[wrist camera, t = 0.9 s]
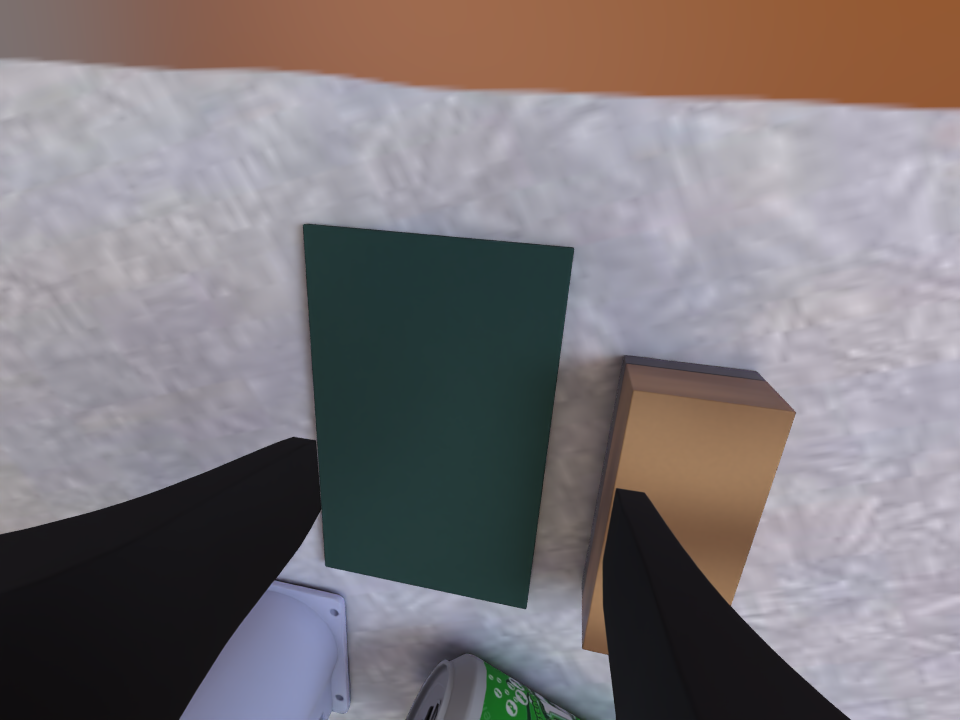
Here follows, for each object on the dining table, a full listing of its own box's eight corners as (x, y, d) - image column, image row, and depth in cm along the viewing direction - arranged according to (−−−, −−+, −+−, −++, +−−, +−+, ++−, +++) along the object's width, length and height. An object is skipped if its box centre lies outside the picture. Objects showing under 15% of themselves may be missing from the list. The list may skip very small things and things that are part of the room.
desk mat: (527, 603, 24) (526, 609, 24) (328, 561, 26) (324, 566, 26) (574, 247, 18) (574, 248, 18) (307, 223, 20) (302, 224, 19)
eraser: (688, 605, 22) (707, 677, 19) (581, 583, 23) (581, 649, 20) (757, 370, 18) (797, 412, 15) (623, 354, 19) (632, 389, 16)
